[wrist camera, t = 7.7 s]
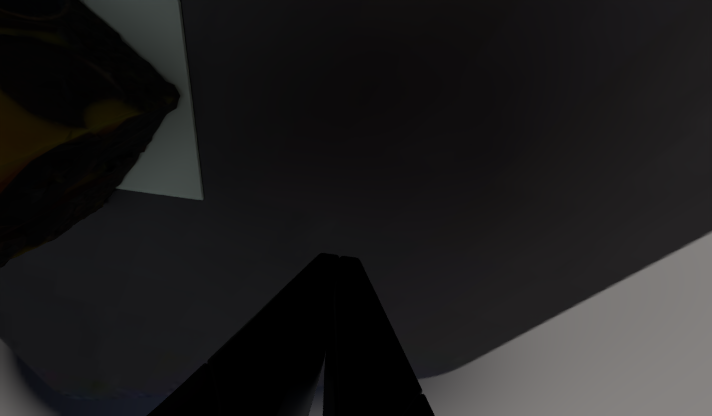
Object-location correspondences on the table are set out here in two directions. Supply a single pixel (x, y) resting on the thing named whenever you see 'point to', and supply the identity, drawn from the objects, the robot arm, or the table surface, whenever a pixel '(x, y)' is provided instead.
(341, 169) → the table surface
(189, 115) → the mat
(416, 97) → the table surface
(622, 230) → the table surface
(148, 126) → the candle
